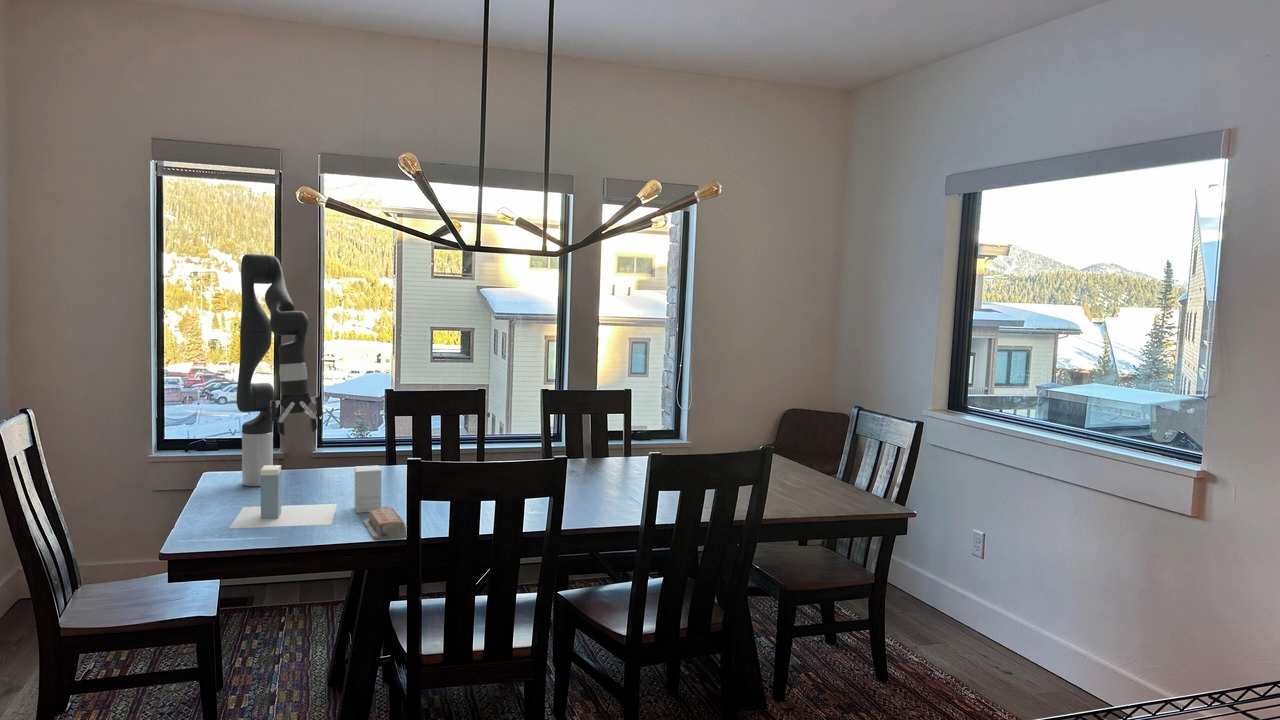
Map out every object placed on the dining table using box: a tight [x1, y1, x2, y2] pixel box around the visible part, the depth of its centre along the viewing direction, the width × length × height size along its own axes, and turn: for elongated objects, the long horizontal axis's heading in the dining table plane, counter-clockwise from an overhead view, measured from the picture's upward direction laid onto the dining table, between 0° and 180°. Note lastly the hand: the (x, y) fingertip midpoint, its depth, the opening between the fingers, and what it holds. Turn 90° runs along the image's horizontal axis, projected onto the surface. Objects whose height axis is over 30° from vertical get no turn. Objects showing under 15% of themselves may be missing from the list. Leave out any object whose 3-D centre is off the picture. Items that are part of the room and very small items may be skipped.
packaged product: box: [362, 505, 407, 541], centre depth 233 cm, size 18×5×10 cm
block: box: [260, 464, 282, 519], centre depth 240 cm, size 6×4×14 cm
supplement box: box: [354, 464, 382, 514], centre depth 252 cm, size 7×7×13 cm
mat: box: [228, 503, 338, 529], centre depth 241 cm, size 22×26×1 cm
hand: (298, 433), depth 249 cm, fingers open, 8 cm apart
